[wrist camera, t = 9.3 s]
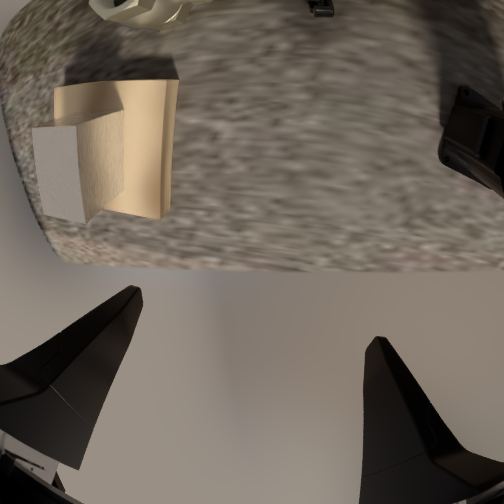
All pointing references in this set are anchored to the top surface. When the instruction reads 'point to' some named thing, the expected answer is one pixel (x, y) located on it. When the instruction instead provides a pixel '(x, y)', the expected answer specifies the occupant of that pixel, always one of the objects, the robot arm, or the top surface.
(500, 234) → the top surface
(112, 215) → the top surface
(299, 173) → the top surface
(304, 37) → the top surface
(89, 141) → the aluminium block
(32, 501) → the robot arm
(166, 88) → the oak plate
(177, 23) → the valve
